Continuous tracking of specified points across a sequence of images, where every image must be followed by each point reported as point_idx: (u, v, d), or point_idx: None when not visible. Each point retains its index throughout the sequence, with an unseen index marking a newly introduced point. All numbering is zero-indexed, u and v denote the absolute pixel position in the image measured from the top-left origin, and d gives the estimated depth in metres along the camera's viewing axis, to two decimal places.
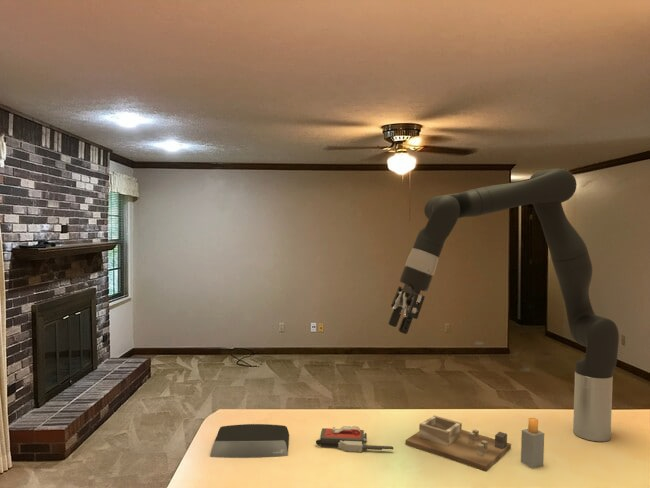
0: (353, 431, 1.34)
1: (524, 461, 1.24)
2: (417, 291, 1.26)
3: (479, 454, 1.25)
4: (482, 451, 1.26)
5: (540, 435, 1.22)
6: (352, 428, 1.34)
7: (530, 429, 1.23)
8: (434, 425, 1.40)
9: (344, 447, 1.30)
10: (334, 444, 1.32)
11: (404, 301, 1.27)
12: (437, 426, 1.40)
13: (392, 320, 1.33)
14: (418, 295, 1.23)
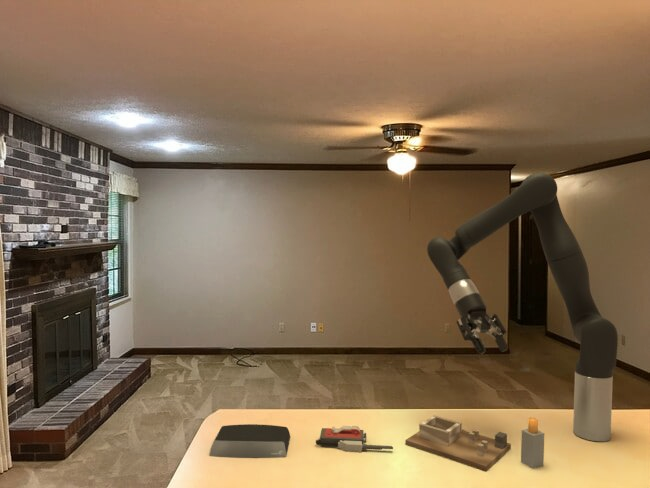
0: (353, 431, 1.34)
1: (524, 461, 1.24)
2: (466, 316, 1.37)
3: (479, 454, 1.25)
4: (482, 451, 1.26)
5: (540, 435, 1.22)
6: (352, 428, 1.35)
7: (530, 429, 1.23)
8: (434, 425, 1.40)
9: (344, 446, 1.30)
10: (334, 443, 1.32)
11: None
12: (437, 426, 1.40)
13: (500, 346, 1.37)
14: (458, 320, 1.36)
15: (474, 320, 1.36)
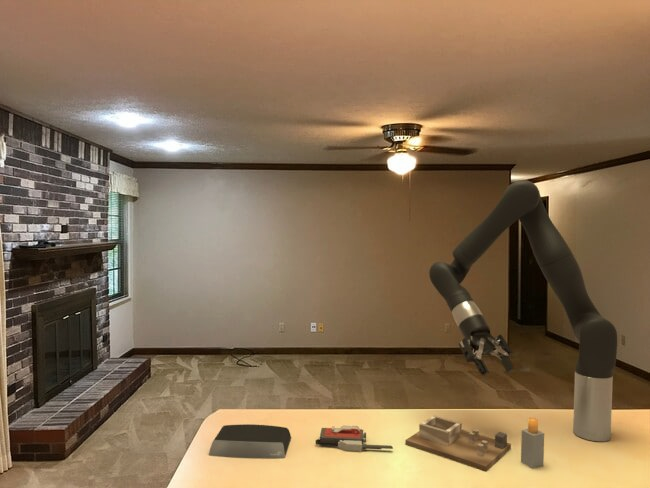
0: (353, 430, 1.34)
1: (524, 461, 1.24)
2: (468, 338, 1.39)
3: (479, 454, 1.25)
4: (482, 451, 1.26)
5: (540, 435, 1.22)
6: (352, 427, 1.35)
7: (530, 429, 1.23)
8: (434, 425, 1.40)
9: (344, 446, 1.31)
10: (334, 443, 1.32)
11: None
12: (437, 426, 1.40)
13: (506, 367, 1.36)
14: (460, 342, 1.37)
15: (477, 341, 1.37)
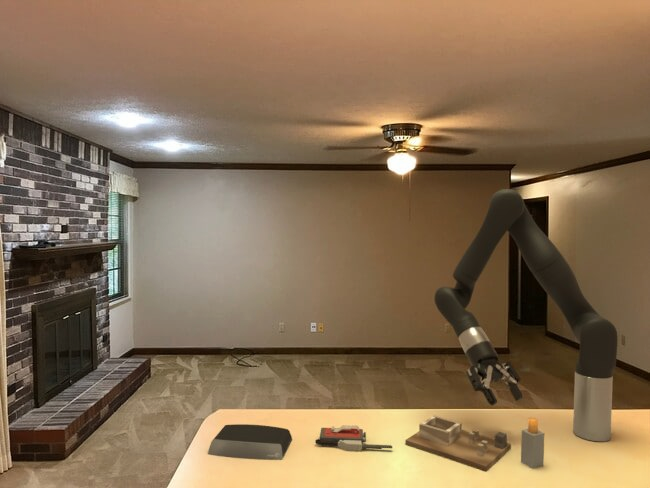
0: (352, 430, 1.34)
1: (524, 461, 1.24)
2: (476, 365, 1.36)
3: (479, 454, 1.25)
4: (482, 451, 1.26)
5: (540, 435, 1.22)
6: (351, 427, 1.35)
7: (530, 429, 1.23)
8: (434, 425, 1.40)
9: (344, 446, 1.31)
10: (334, 443, 1.32)
11: None
12: (437, 426, 1.40)
13: (514, 395, 1.34)
14: (467, 370, 1.35)
15: (484, 369, 1.35)
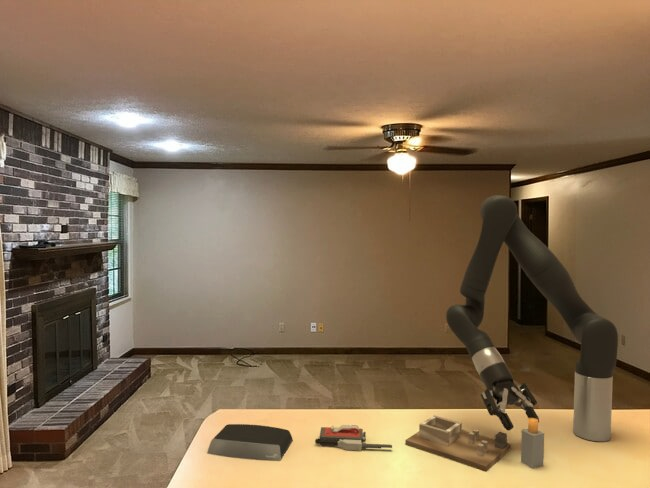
0: (352, 430, 1.34)
1: (524, 461, 1.24)
2: (491, 388, 1.31)
3: (479, 454, 1.25)
4: (482, 451, 1.26)
5: (540, 435, 1.22)
6: (351, 427, 1.35)
7: (530, 429, 1.23)
8: (434, 425, 1.40)
9: (344, 445, 1.31)
10: (334, 442, 1.32)
11: None
12: (437, 426, 1.40)
13: None
14: (482, 393, 1.30)
15: (500, 392, 1.30)
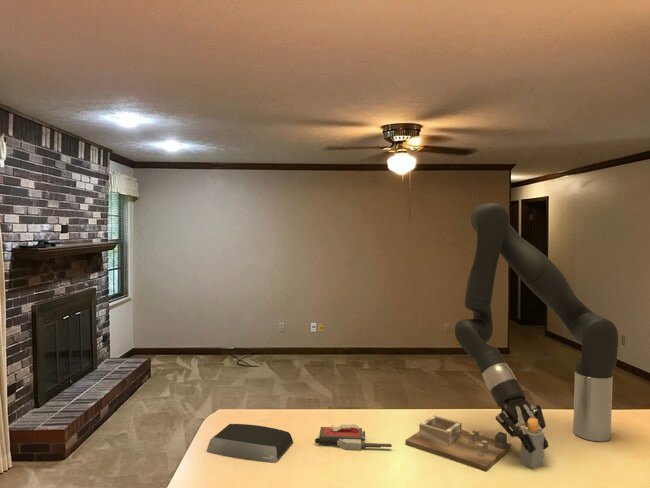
0: (352, 429, 1.35)
1: (524, 461, 1.24)
2: (502, 406, 1.28)
3: (479, 454, 1.25)
4: (482, 451, 1.26)
5: (540, 435, 1.22)
6: (351, 426, 1.36)
7: (530, 429, 1.23)
8: (434, 425, 1.40)
9: (343, 445, 1.31)
10: (333, 442, 1.33)
11: None
12: (437, 426, 1.40)
13: None
14: (497, 417, 1.25)
15: (513, 412, 1.26)
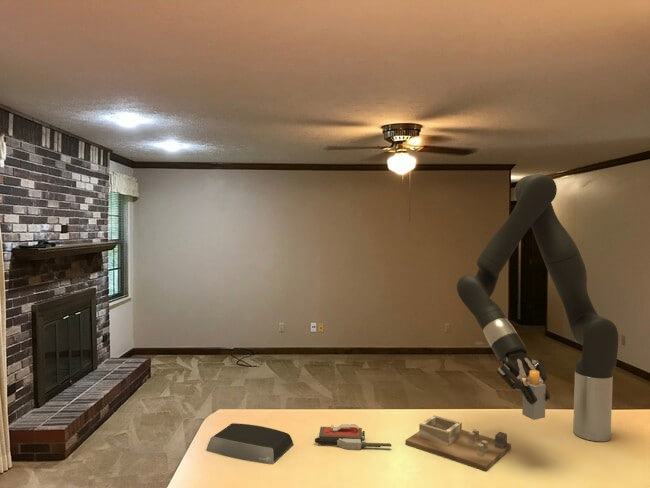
0: (351, 429, 1.35)
1: (526, 413, 1.23)
2: (503, 359, 1.27)
3: (479, 454, 1.25)
4: (482, 451, 1.26)
5: (541, 387, 1.22)
6: (350, 426, 1.36)
7: (531, 381, 1.22)
8: (434, 425, 1.40)
9: (343, 444, 1.32)
10: (333, 442, 1.33)
11: None
12: (437, 426, 1.40)
13: None
14: (498, 370, 1.25)
15: (514, 365, 1.25)
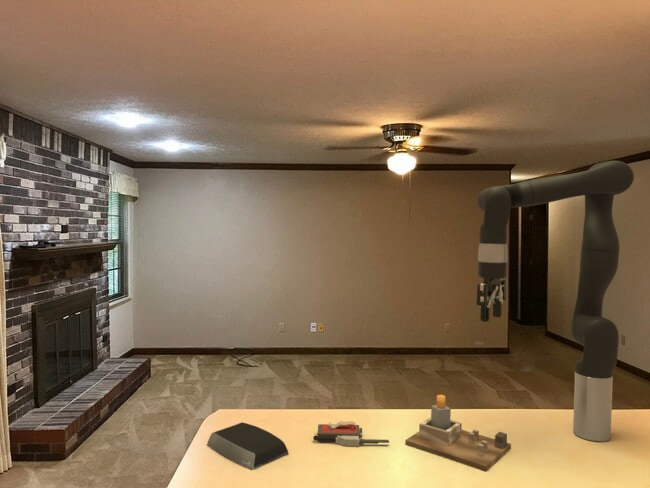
0: (349, 426, 1.37)
1: None
2: (487, 281, 1.36)
3: (479, 454, 1.25)
4: (482, 451, 1.26)
5: (446, 410, 1.35)
6: (348, 423, 1.38)
7: (438, 404, 1.35)
8: None
9: (342, 441, 1.33)
10: (331, 439, 1.35)
11: None
12: None
13: (495, 312, 1.43)
14: (480, 284, 1.34)
15: (492, 287, 1.37)
